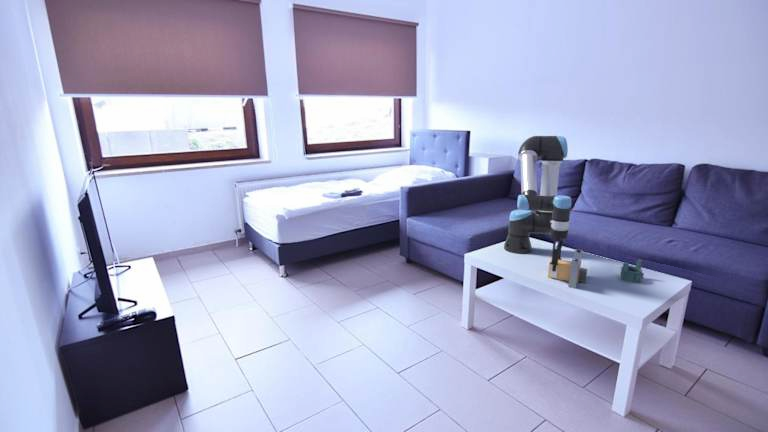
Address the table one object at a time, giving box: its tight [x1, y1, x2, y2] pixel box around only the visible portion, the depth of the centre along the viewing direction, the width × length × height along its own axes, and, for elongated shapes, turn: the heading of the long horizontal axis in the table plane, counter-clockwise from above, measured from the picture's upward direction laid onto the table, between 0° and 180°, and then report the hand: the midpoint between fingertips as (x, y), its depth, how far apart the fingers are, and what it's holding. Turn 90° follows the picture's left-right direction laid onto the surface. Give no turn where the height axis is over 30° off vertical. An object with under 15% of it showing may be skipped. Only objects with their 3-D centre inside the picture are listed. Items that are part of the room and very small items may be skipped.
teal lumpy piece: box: [619, 259, 644, 284], centre depth 183 cm, size 9×9×9 cm
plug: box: [547, 257, 588, 284], centre depth 183 cm, size 6×16×8 cm, turn 59°
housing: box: [568, 248, 584, 289], centre depth 181 cm, size 18×3×13 cm, turn 149°
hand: (554, 274), depth 187 cm, fingers closed on plug, 5 cm apart
